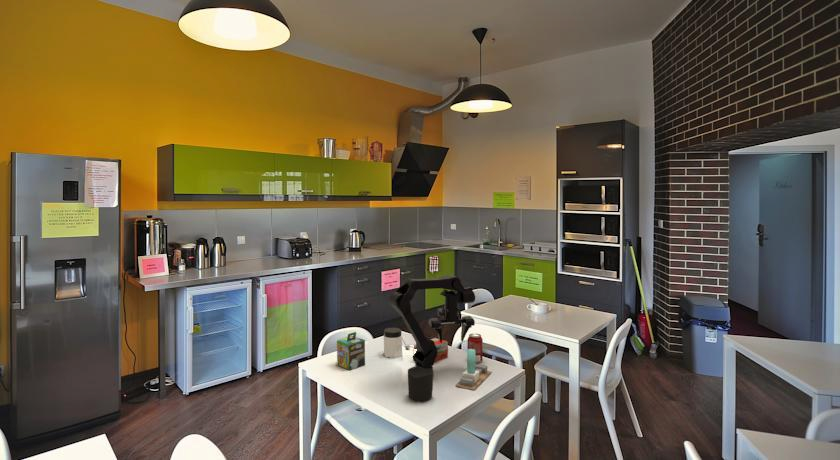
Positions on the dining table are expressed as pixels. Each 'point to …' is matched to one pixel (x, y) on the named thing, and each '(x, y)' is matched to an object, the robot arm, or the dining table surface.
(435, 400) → the dining table surface
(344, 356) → the chalk box
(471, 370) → the carriage
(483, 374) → the rail
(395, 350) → the jar
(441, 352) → the medicine box
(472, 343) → the soda can
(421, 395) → the pen holder
